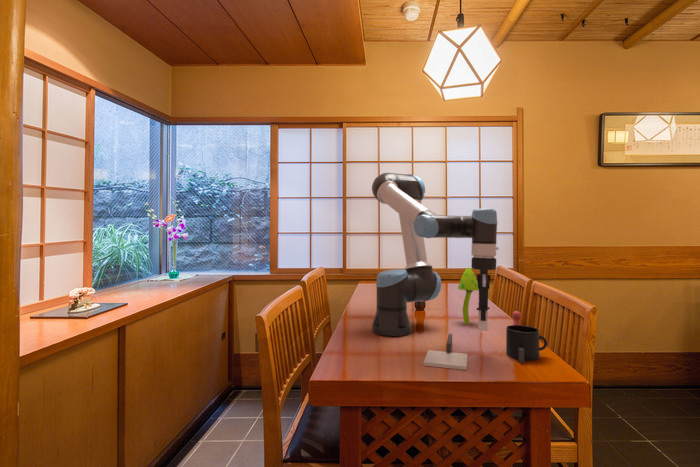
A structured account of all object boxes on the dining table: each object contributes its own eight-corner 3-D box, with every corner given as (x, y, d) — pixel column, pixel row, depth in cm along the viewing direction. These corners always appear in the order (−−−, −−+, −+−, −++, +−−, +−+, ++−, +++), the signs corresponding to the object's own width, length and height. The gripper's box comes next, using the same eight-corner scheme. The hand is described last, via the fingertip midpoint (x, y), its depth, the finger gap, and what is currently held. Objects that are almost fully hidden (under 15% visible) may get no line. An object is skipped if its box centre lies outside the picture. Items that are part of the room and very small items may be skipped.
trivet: (423, 365, 109) (423, 362, 109) (428, 353, 120) (428, 350, 120) (466, 370, 105) (466, 366, 105) (467, 357, 117) (467, 353, 117)
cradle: (446, 356, 118) (446, 314, 118) (448, 343, 132) (449, 306, 132) (527, 364, 111) (527, 320, 111) (520, 349, 125) (520, 310, 125)
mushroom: (472, 331, 149) (472, 268, 149) (453, 327, 155) (454, 266, 155) (483, 327, 154) (483, 267, 154) (465, 323, 161) (465, 265, 161)
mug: (552, 363, 112) (552, 333, 112) (511, 361, 114) (511, 331, 114) (541, 353, 122) (541, 325, 122) (502, 351, 124) (503, 324, 124)
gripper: (497, 258, 113) (496, 336, 113) (495, 256, 125) (493, 326, 125) (471, 257, 115) (470, 334, 115) (471, 255, 127) (470, 324, 128)
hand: (482, 330), depth 120 cm, fingers closed
